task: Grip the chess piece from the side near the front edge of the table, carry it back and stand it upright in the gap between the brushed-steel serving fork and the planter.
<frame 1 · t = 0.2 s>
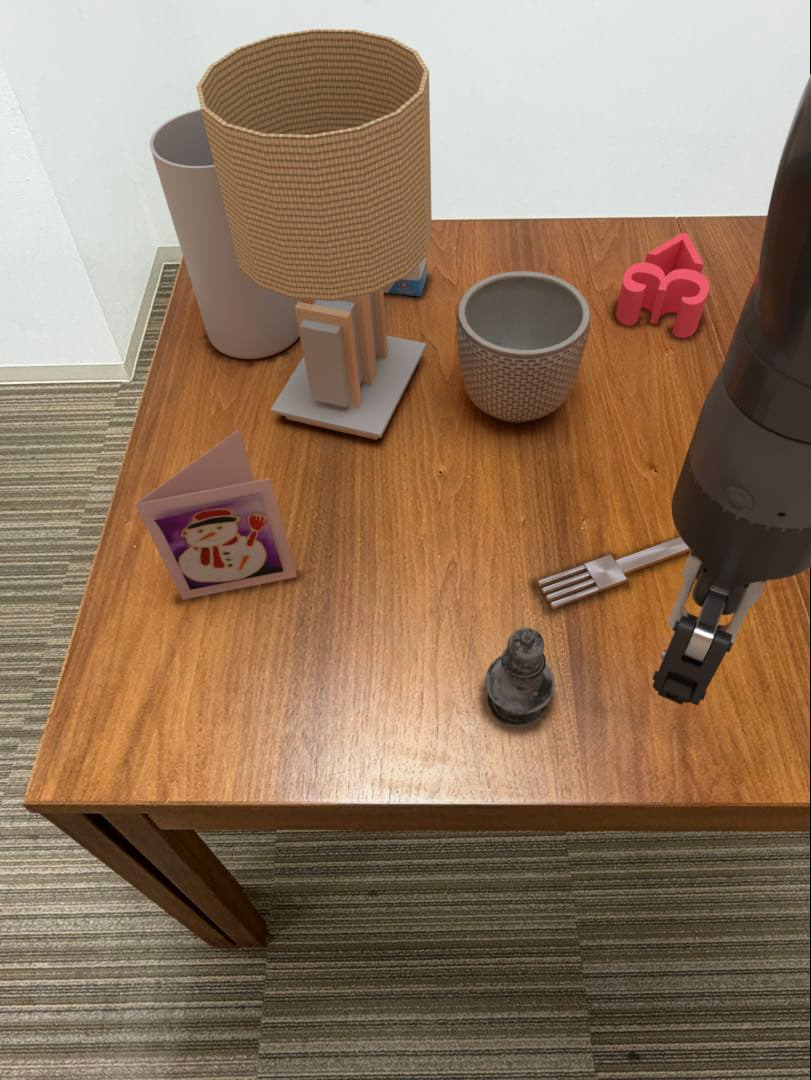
hand: (693, 635, 49), 22 cm above the table, tool pointing down, fingers open, 8 cm apart
desk lamp: (352, 391, 95), on the table
cylinder vase: (257, 330, 103), on the table
planter: (515, 403, 93), on the table
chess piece: (516, 700, 71), on the table
ink box: (393, 285, 107), on the table
letters: (664, 299, 103), on the table
greeting card: (238, 566, 81), on the table
fork: (626, 566, 79), on the table
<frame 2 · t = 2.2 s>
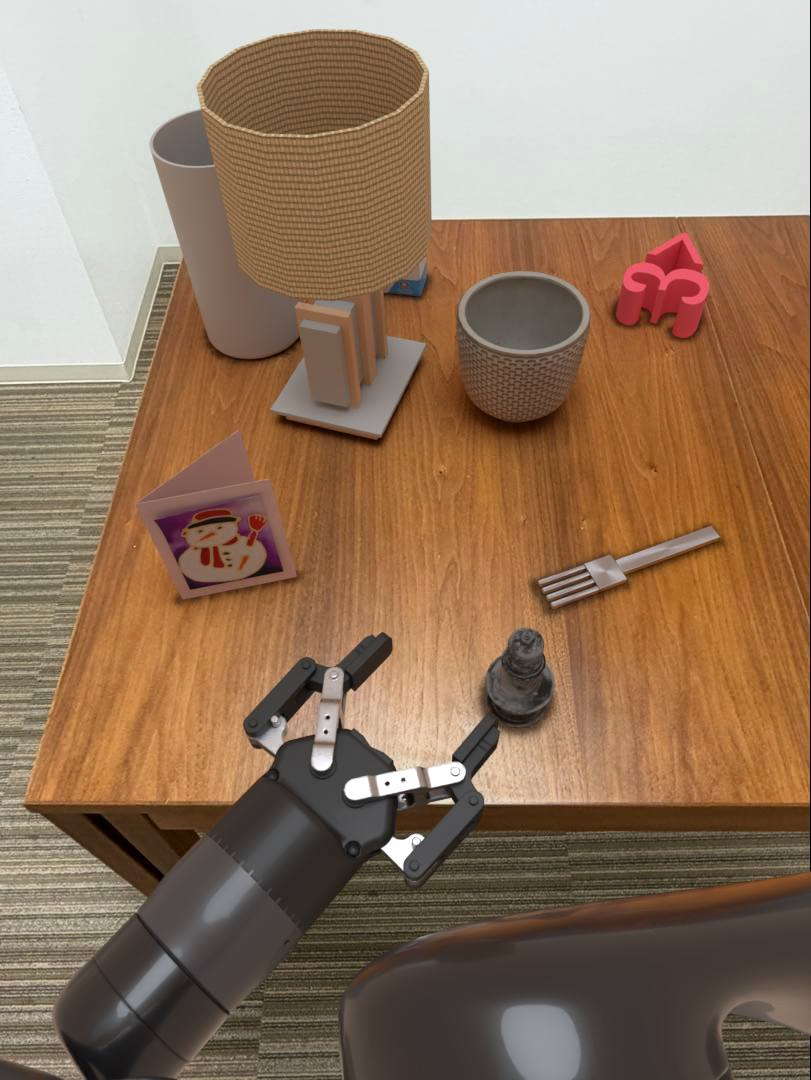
hand: (439, 678, 50), 20 cm above the table, tool horizontal, fingers open, 8 cm apart
nothing on the table moved.
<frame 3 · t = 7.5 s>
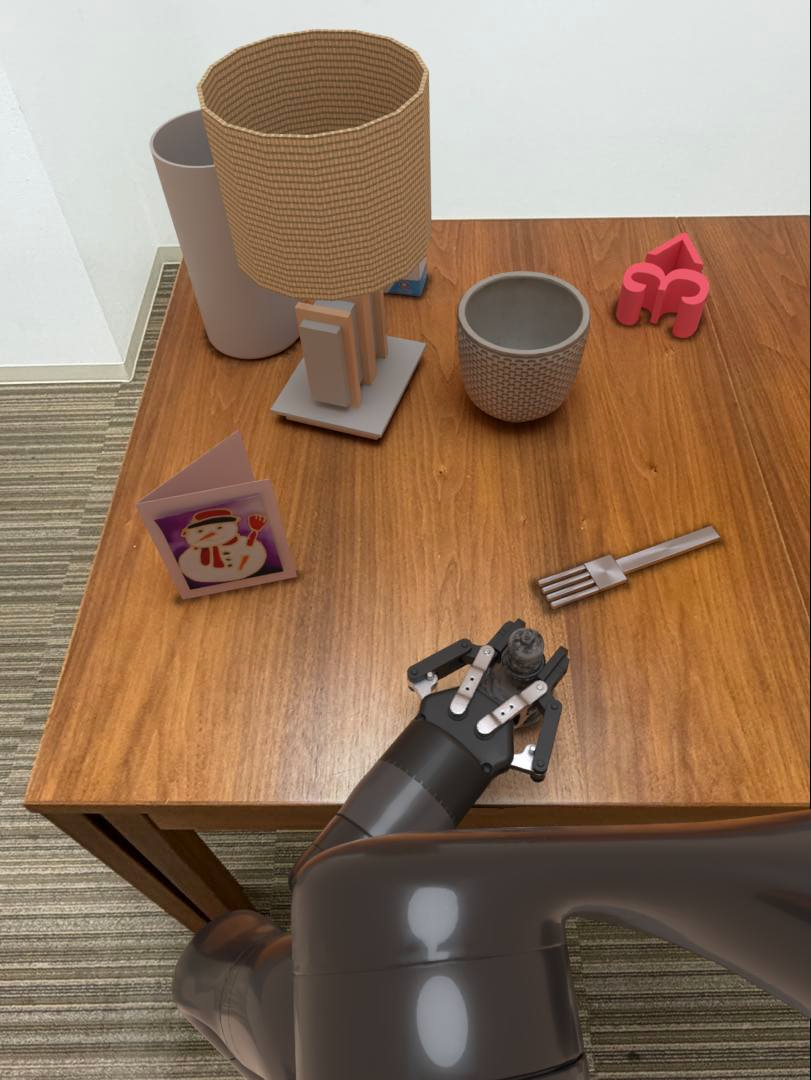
hand: (541, 639, 67), 7 cm above the table, tool horizontal, fingers closed on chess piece, 3 cm apart
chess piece: (516, 700, 71), on the table, touching gripper
everything else where it was.
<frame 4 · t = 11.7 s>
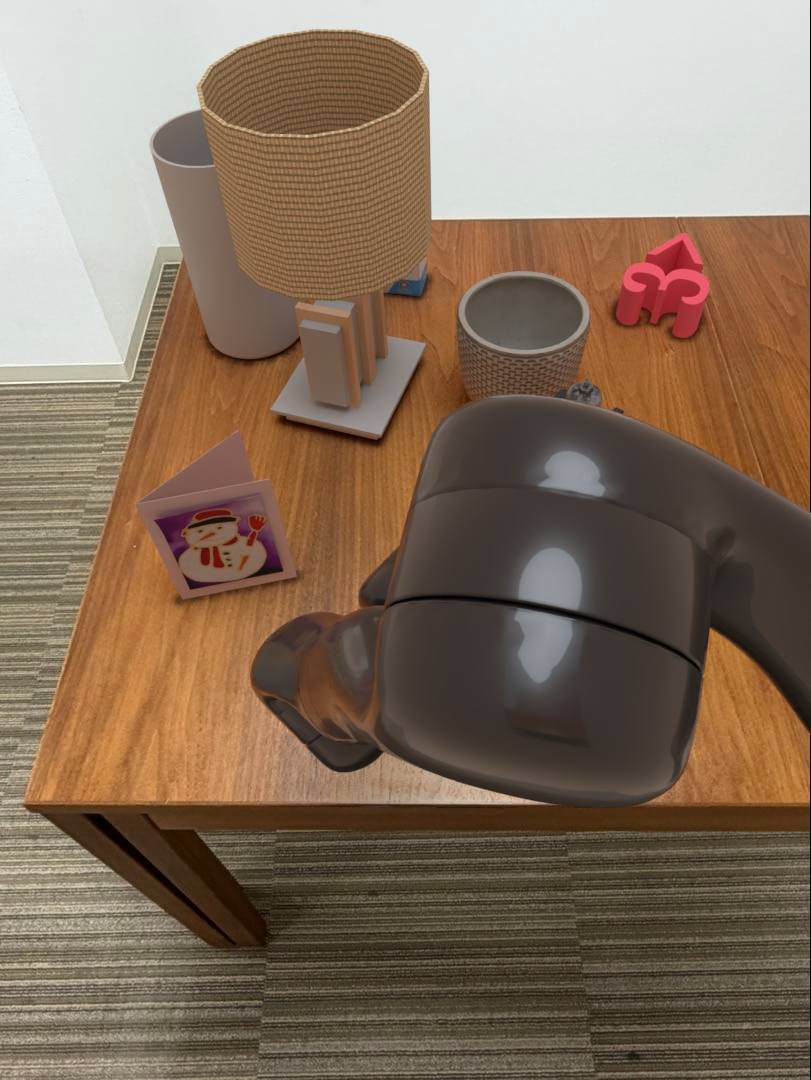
hand: (596, 405, 67), 18 cm above the table, tool horizontal, fingers closed on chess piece, 3 cm apart
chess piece: (567, 481, 72), point 10 cm above the table, touching gripper
everything else where it was.
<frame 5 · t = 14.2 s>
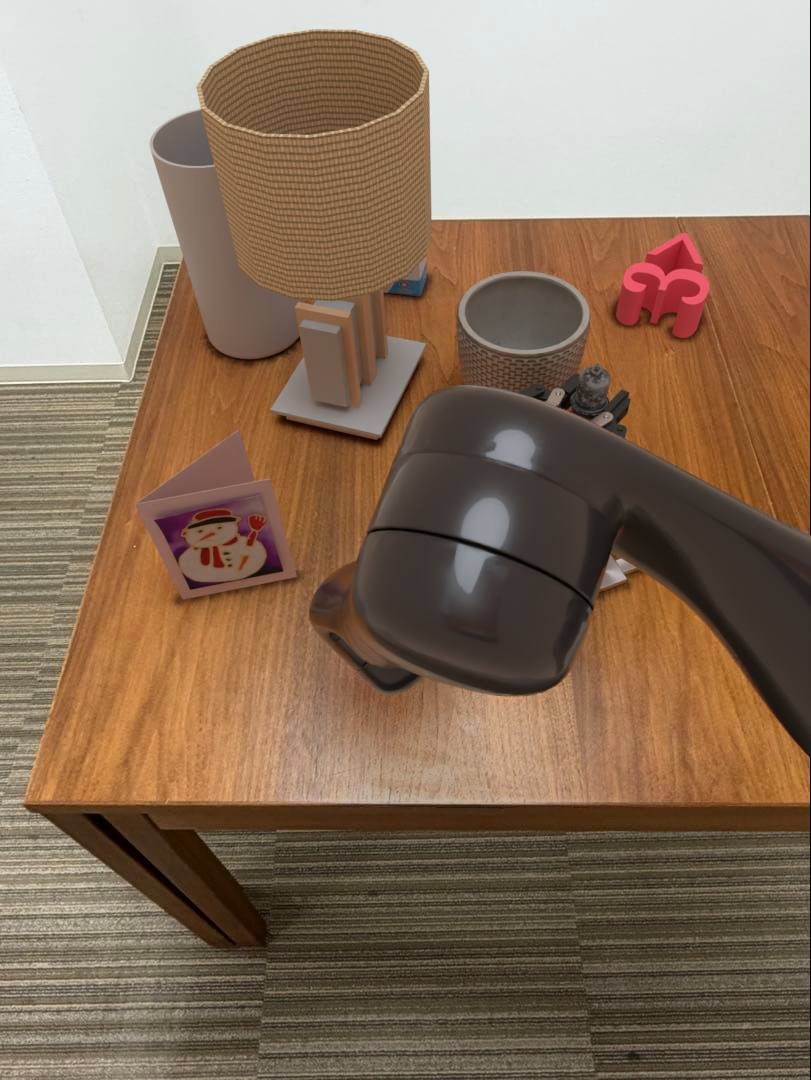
hand: (604, 388, 76), 12 cm above the table, tool horizontal, fingers closed on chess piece, 3 cm apart
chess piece: (578, 456, 81), point 5 cm above the table, touching gripper
everything else where it was.
when the fingers open (7 cm above the table, at t = 16.0 s): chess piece stays where it is, on the table.
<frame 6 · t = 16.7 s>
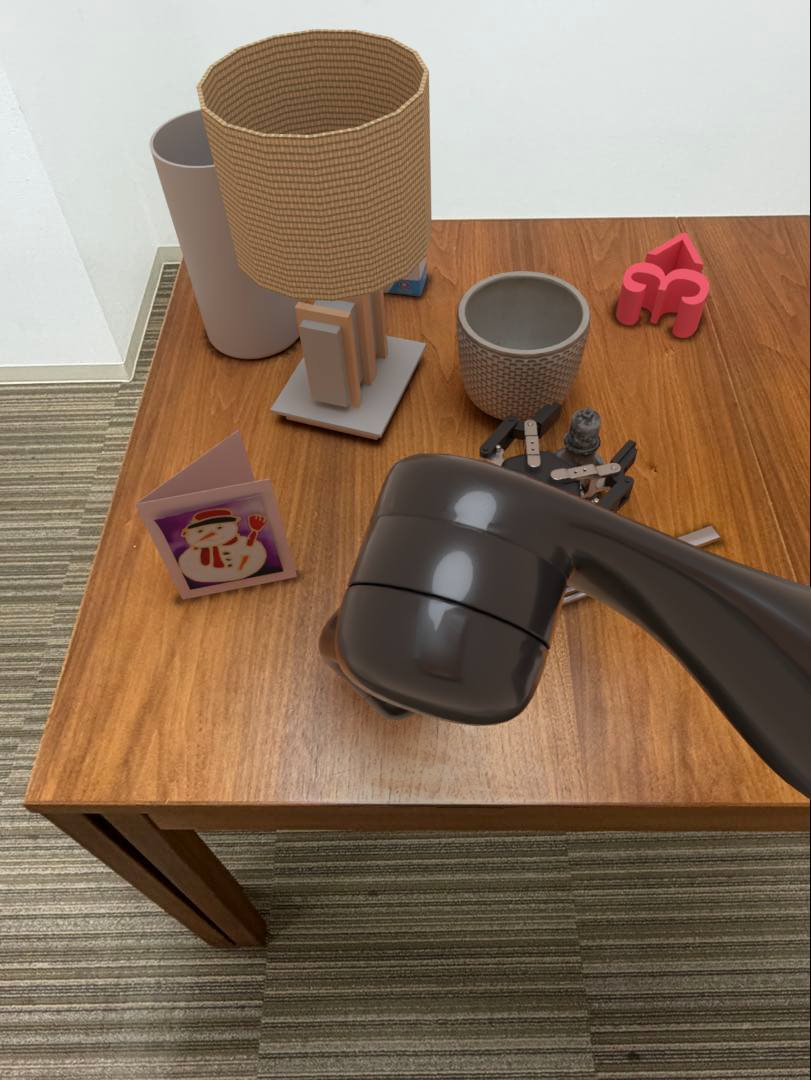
hand: (594, 427, 80), 8 cm above the table, tool horizontal, fingers open, 8 cm apart
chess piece: (572, 490, 85), on the table
everything else where it was.
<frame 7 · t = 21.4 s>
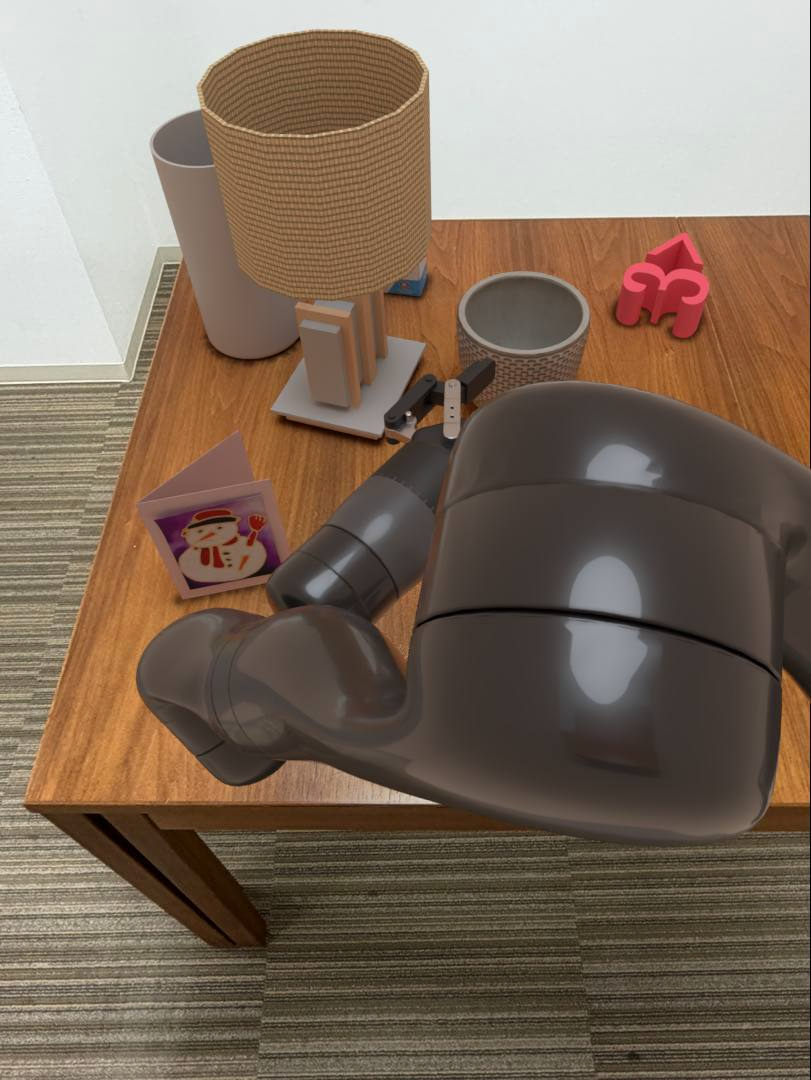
hand: (536, 389, 61), 23 cm above the table, tool horizontal, fingers open, 8 cm apart
nothing on the table moved.
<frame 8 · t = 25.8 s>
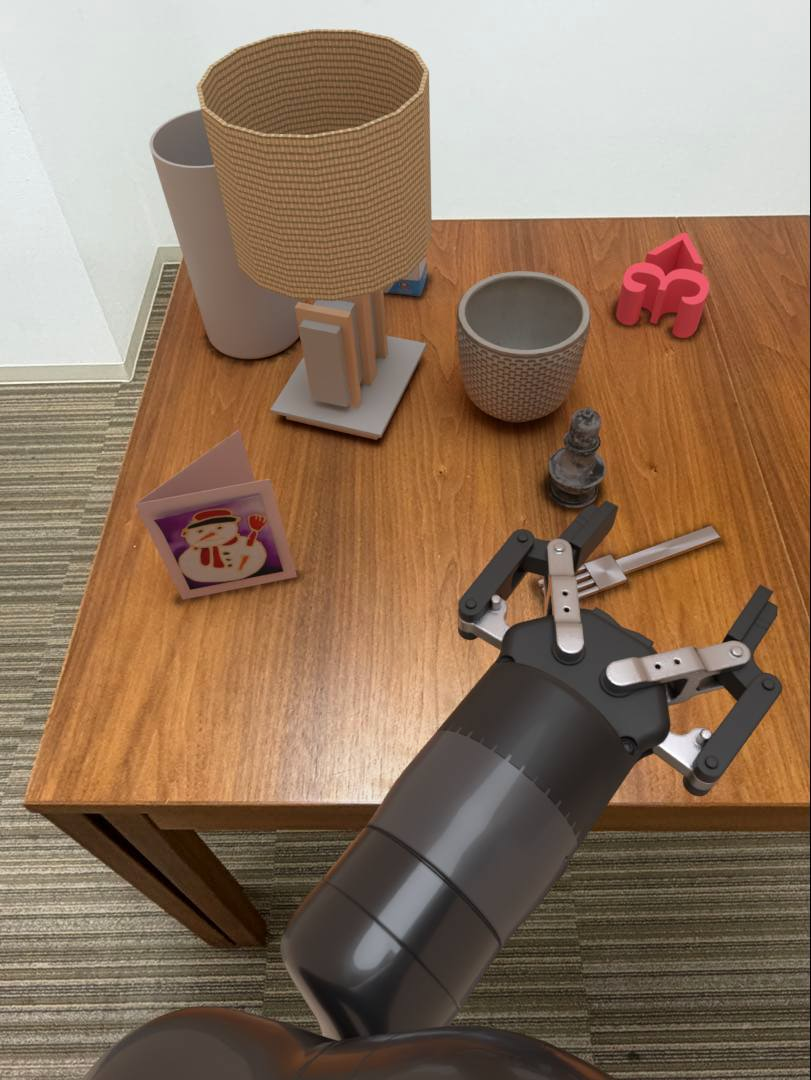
hand: (682, 552, 41), 32 cm above the table, tool horizontal, fingers open, 8 cm apart
nothing on the table moved.
at the end: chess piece 0.1 cm from the target spot on the table beside the planter, on the table; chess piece 10.9 cm from the fork (horizontally); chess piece tilted 0° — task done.
